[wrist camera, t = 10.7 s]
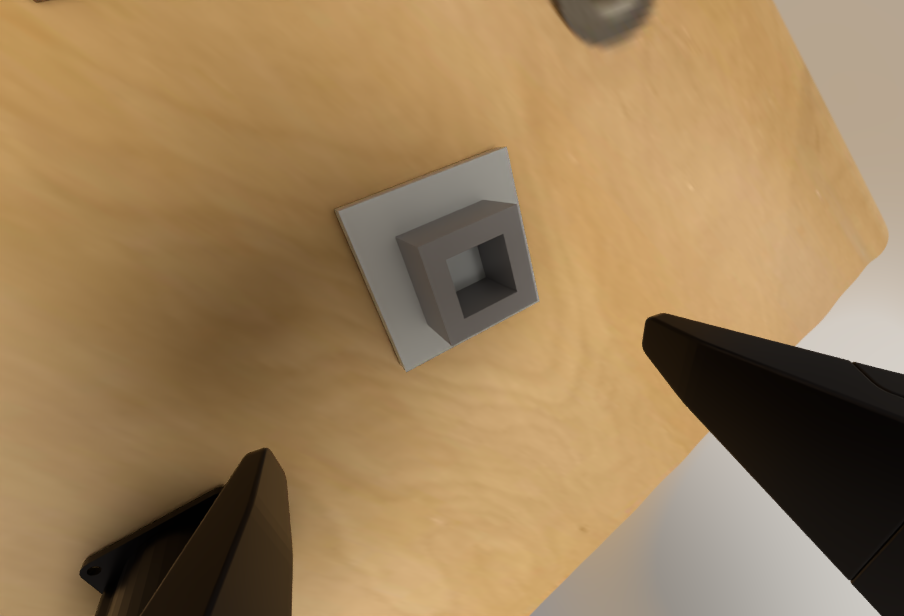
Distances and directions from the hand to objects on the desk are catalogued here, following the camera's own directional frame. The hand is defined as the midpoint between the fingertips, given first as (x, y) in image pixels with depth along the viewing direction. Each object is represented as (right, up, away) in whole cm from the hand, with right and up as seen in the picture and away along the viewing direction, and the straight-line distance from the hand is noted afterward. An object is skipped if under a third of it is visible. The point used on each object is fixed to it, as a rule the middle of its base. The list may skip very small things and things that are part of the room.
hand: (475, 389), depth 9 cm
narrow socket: (-1, +4, +12) cm, 13 cm away
